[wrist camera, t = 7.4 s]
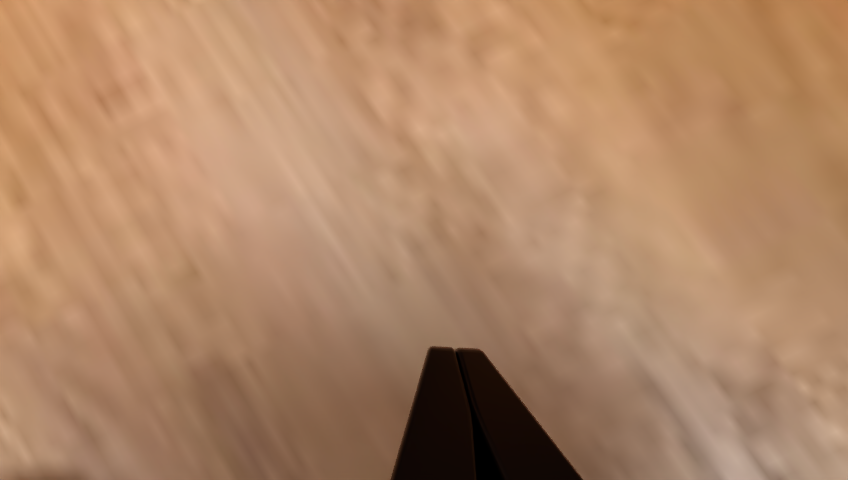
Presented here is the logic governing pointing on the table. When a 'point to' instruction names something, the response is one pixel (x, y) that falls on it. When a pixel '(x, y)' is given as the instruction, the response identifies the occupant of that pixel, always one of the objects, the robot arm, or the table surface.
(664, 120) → the table surface
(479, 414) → the robot arm
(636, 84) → the table surface
